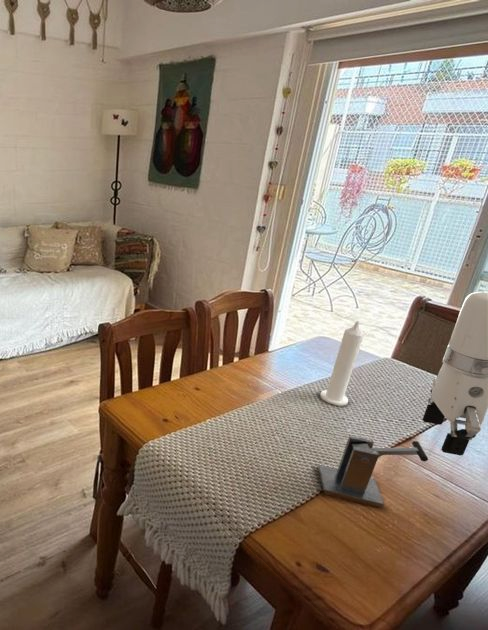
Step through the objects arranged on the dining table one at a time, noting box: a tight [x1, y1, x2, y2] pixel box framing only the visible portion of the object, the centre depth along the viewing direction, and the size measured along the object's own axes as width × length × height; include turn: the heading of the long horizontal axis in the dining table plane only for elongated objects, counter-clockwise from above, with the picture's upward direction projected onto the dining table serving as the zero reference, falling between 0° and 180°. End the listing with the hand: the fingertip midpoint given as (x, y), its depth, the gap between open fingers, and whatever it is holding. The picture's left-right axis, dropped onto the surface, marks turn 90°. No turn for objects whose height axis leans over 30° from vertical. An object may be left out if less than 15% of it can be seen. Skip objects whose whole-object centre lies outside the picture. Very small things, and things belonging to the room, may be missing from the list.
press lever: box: [352, 440, 429, 462], centre depth 90 cm, size 12×5×2 cm, turn 69°
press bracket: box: [317, 435, 385, 509], centre depth 94 cm, size 11×8×12 cm
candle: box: [319, 320, 365, 407], centre depth 123 cm, size 7×7×25 cm
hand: (441, 437), depth 86 cm, fingers open, 9 cm apart
